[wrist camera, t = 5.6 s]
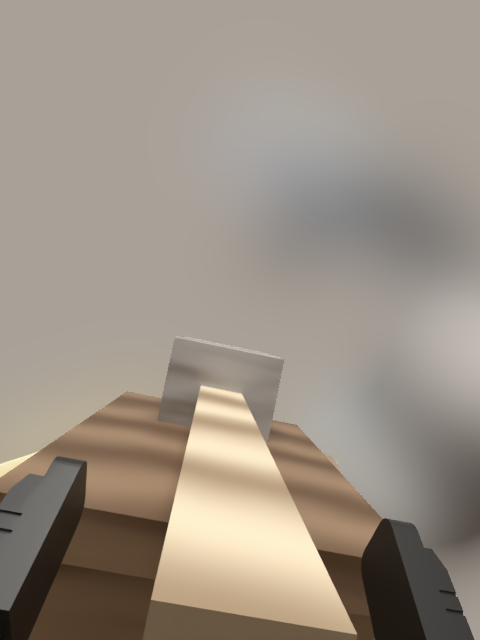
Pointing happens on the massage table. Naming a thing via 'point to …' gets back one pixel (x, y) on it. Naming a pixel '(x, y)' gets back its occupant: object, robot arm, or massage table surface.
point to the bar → (235, 513)
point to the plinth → (154, 514)
